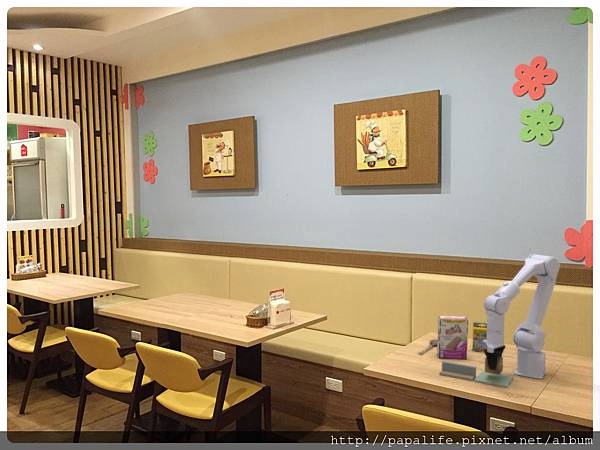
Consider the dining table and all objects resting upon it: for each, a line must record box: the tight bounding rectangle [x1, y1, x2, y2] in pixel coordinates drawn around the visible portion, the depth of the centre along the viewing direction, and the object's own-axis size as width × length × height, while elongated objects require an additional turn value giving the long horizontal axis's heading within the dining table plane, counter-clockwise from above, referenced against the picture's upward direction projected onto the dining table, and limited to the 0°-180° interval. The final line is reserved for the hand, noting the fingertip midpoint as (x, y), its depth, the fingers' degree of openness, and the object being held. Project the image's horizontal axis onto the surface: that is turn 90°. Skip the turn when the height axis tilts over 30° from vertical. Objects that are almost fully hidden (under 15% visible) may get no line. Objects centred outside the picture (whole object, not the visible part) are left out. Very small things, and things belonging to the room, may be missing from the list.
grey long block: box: [438, 360, 477, 382], centre depth 195 cm, size 12×4×4 cm, turn 58°
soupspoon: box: [417, 338, 438, 356], centre depth 229 cm, size 22×3×7 cm
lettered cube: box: [484, 356, 504, 375], centre depth 191 cm, size 5×5×5 cm
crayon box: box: [472, 321, 487, 353], centre depth 225 cm, size 7×3×12 cm, turn 72°
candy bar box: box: [436, 315, 469, 360], centre depth 216 cm, size 11×5×16 cm, turn 84°
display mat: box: [473, 370, 514, 388], centre depth 192 cm, size 11×11×1 cm
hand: (494, 367), depth 191 cm, fingers closed on lettered cube, 5 cm apart
